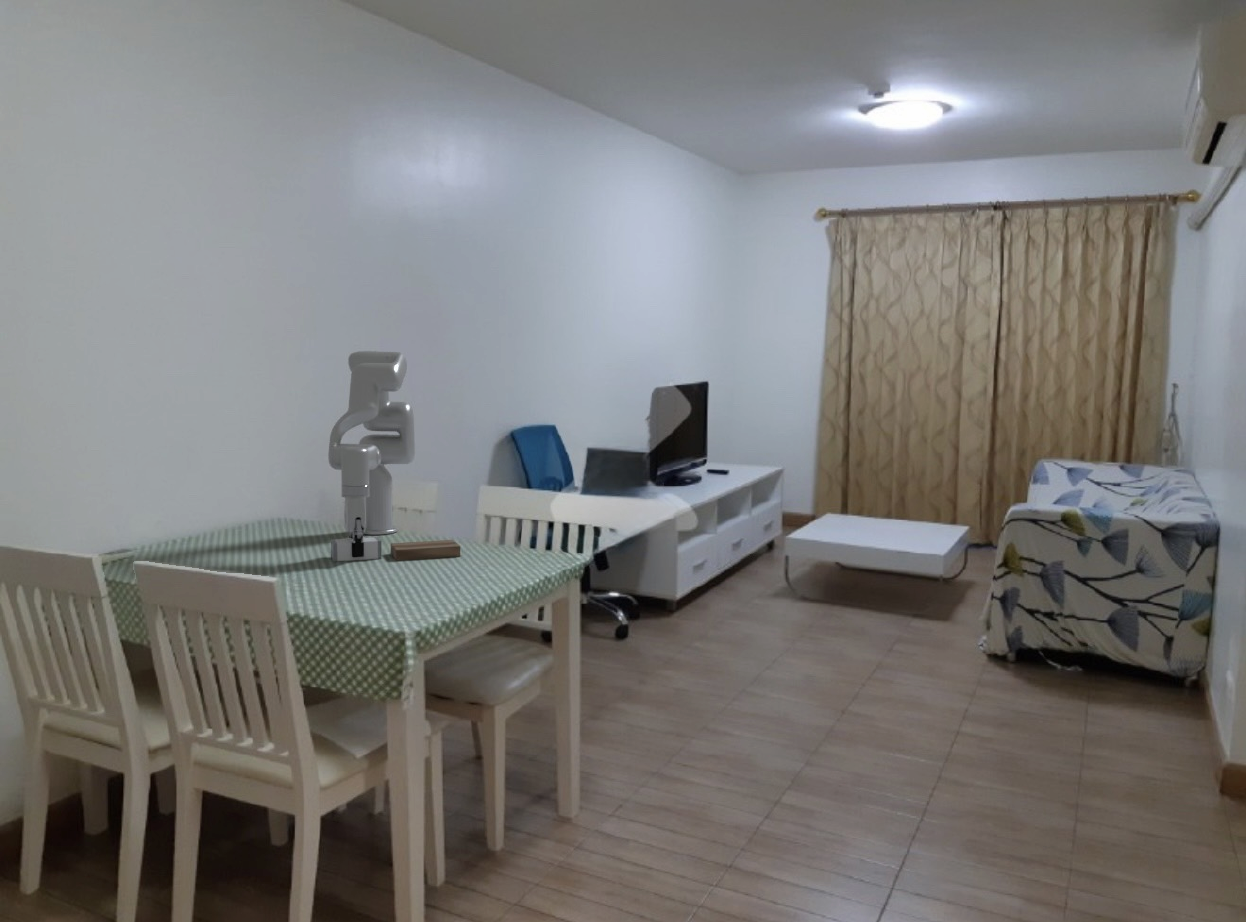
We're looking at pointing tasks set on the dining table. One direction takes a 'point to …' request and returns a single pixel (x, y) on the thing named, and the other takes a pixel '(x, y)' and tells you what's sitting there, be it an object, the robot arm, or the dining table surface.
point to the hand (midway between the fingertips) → (356, 553)
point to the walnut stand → (425, 550)
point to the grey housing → (343, 549)
